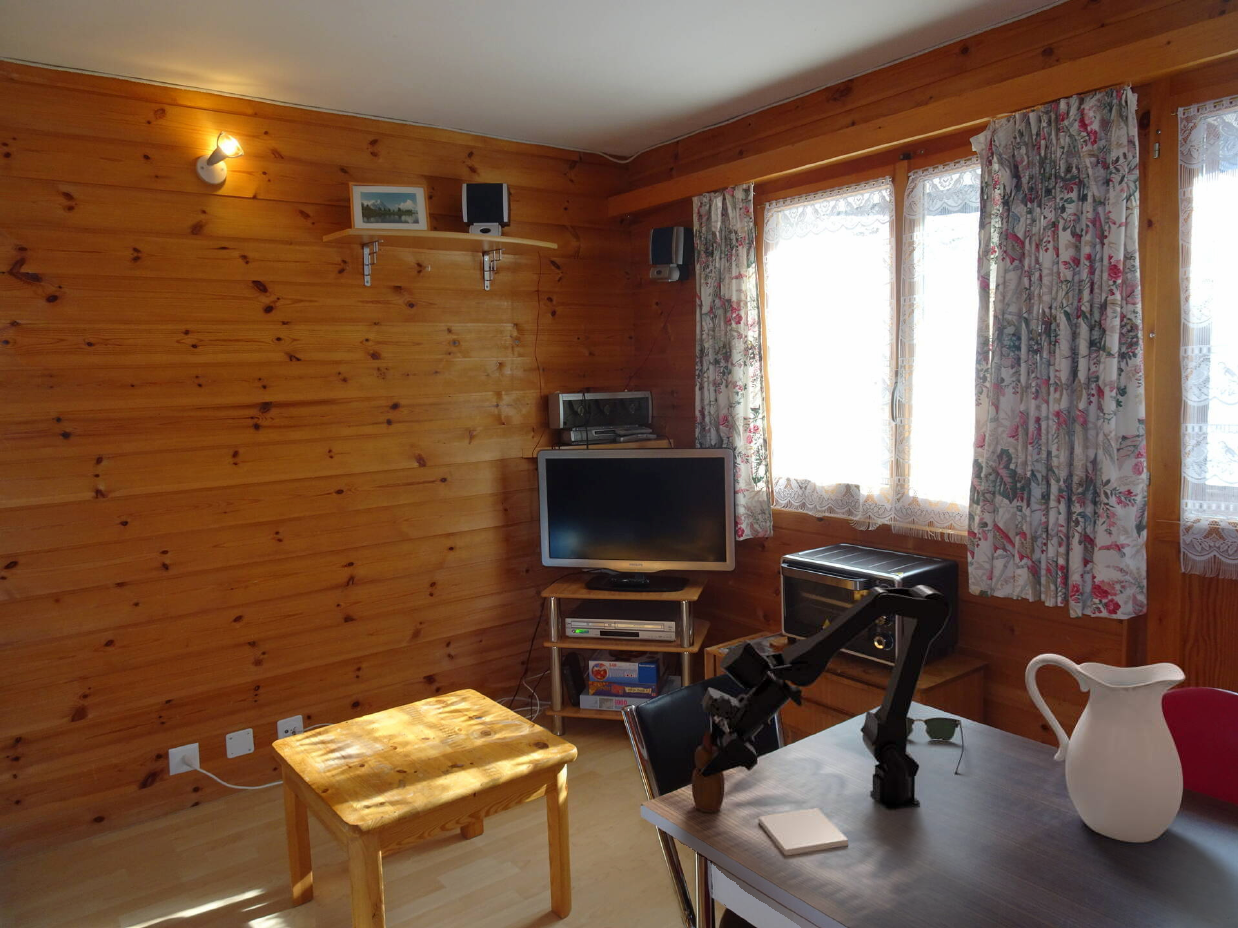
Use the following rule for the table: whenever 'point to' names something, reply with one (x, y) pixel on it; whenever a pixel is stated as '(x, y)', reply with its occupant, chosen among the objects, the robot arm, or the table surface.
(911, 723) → the sunglasses
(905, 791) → the robot arm
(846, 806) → the table surface
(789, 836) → the display tile
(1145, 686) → the pitcher
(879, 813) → the table surface
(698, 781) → the wooden figurine
